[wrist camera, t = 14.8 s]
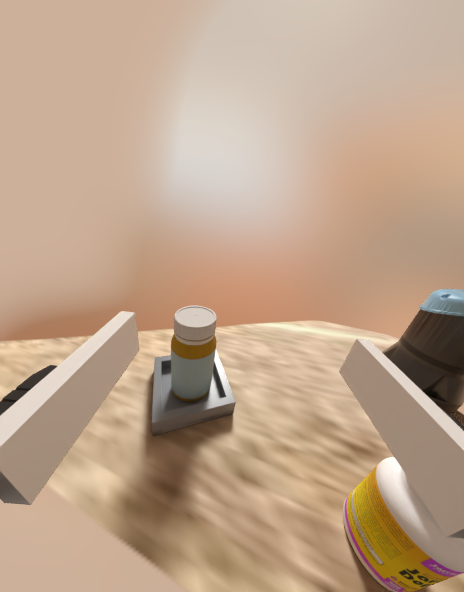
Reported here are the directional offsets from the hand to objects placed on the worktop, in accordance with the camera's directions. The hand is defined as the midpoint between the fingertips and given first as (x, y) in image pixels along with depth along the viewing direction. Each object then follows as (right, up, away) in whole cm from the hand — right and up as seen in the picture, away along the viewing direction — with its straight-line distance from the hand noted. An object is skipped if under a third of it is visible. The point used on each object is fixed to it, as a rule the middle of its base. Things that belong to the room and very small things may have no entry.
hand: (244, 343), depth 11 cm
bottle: (-8, -14, +22) cm, 27 cm away
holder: (-8, -14, +22) cm, 28 cm away
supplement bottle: (+15, -24, +9) cm, 30 cm away
